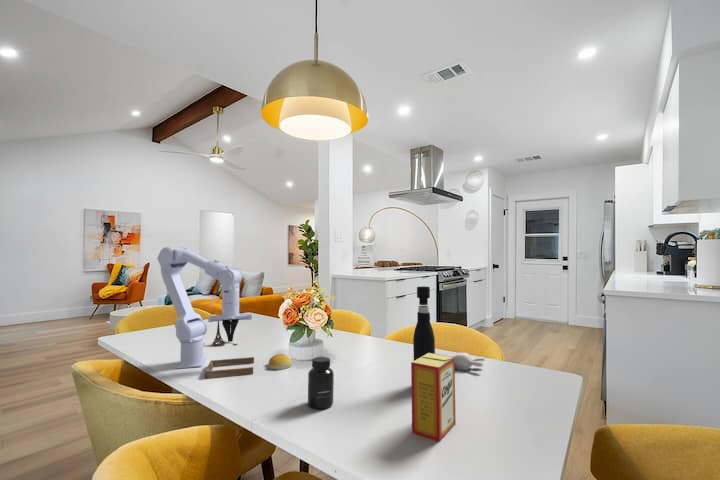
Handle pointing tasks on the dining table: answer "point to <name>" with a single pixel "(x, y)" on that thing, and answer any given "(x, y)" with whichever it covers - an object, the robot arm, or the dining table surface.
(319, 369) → the supplement bottle
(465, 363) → the grey fingered piece
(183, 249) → the robot arm
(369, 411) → the dining table surface
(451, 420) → the baking soda box
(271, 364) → the bread roll
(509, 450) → the dining table surface
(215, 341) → the eiffel tower figurine
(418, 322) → the wine bottle
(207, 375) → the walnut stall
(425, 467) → the dining table surface
